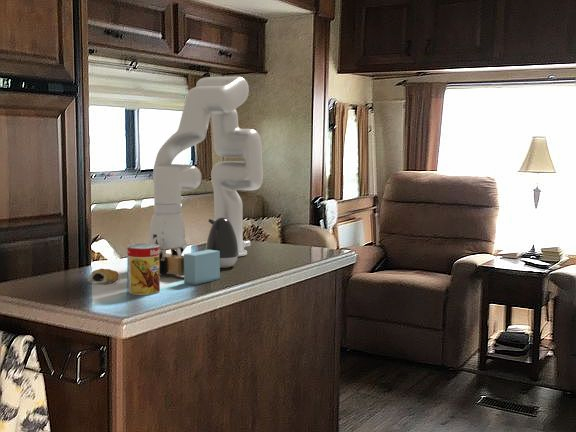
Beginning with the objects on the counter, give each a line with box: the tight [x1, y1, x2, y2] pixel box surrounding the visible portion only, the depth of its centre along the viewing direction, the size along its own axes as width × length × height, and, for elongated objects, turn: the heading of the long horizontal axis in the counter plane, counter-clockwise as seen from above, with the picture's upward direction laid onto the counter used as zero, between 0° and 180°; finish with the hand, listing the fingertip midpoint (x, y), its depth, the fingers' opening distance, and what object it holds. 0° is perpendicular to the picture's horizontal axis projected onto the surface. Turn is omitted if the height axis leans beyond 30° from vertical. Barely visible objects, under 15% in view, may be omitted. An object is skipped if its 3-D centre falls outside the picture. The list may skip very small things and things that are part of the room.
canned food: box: [127, 242, 161, 296], centre depth 179 cm, size 8×8×12 cm
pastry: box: [87, 268, 120, 285], centre depth 193 cm, size 9×7×4 cm
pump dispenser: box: [205, 218, 239, 269], centre depth 215 cm, size 10×10×15 cm
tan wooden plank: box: [160, 252, 184, 277], centre depth 202 cm, size 5×20×5 cm, turn 54°
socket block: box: [183, 249, 221, 286], centre depth 193 cm, size 10×4×8 cm, turn 144°
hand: (168, 272), depth 201 cm, fingers closed on tan wooden plank, 4 cm apart
